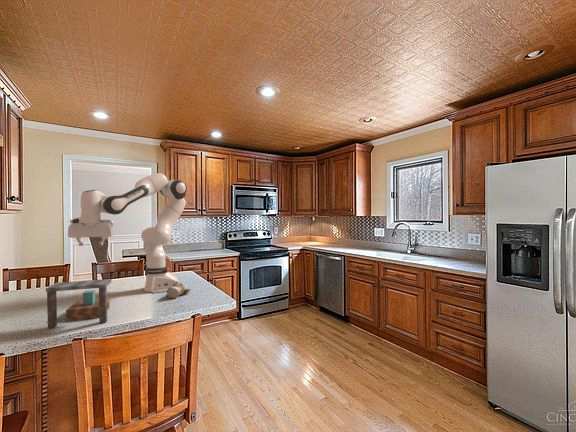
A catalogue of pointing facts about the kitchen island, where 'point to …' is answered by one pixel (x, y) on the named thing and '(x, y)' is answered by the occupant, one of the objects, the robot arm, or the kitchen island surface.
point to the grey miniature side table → (77, 308)
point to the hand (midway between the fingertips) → (91, 245)
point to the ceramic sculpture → (176, 290)
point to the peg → (89, 297)
